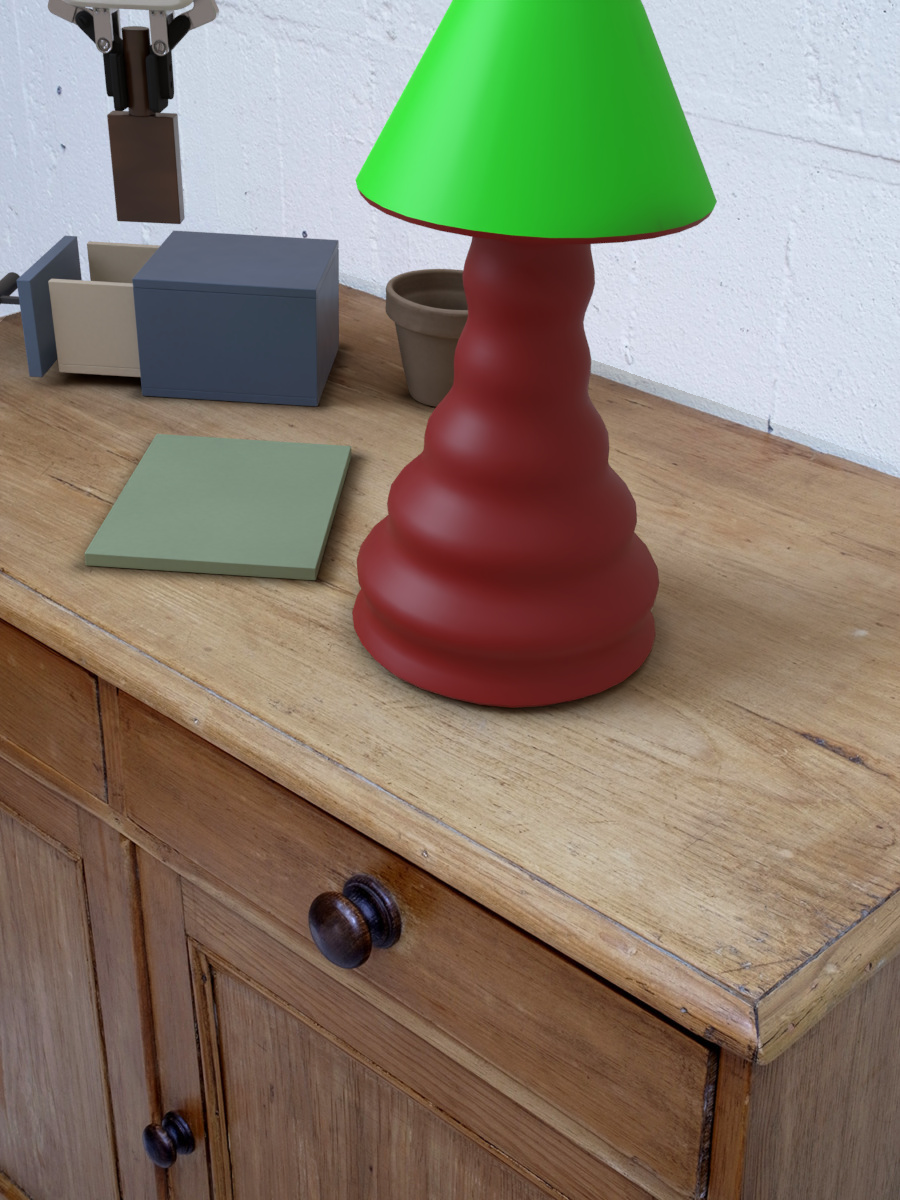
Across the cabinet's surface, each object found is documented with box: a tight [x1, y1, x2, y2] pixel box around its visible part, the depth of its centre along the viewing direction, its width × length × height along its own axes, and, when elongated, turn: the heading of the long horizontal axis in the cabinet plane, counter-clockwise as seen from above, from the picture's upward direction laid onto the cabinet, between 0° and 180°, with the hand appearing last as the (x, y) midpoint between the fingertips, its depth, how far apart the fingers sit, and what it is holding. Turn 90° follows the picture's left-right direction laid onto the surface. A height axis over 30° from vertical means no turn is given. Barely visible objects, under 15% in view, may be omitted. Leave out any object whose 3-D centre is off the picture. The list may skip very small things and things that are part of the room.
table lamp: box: [351, 0, 718, 709], centre depth 75 cm, size 20×20×45 cm
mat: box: [84, 433, 352, 581], centre depth 99 cm, size 16×20×1 cm
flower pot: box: [385, 268, 468, 408], centre depth 116 cm, size 12×11×10 cm
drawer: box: [0, 235, 162, 378], centre depth 120 cm, size 19×13×9 cm
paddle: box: [106, 25, 186, 225], centre depth 100 cm, size 5×2×14 cm, turn 87°
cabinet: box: [132, 230, 340, 407], centre depth 119 cm, size 16×15×11 cm
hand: (141, 106), depth 99 cm, fingers closed on paddle, 2 cm apart
